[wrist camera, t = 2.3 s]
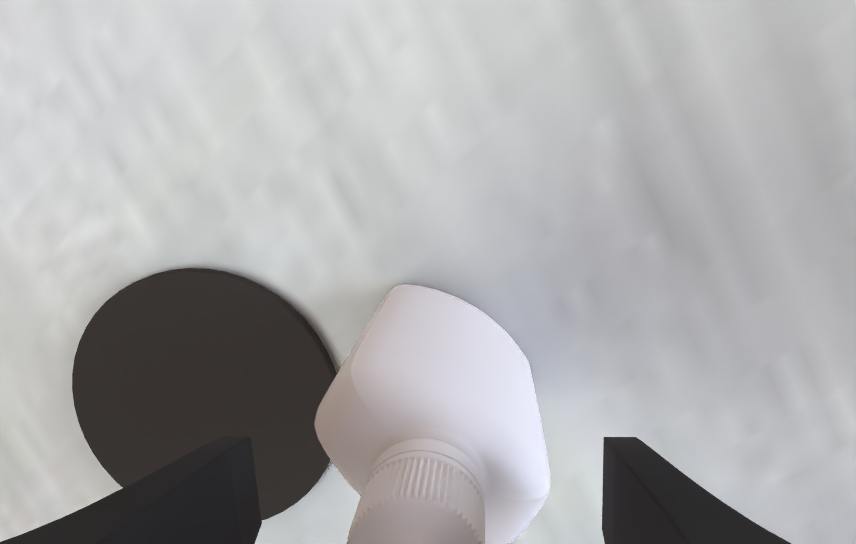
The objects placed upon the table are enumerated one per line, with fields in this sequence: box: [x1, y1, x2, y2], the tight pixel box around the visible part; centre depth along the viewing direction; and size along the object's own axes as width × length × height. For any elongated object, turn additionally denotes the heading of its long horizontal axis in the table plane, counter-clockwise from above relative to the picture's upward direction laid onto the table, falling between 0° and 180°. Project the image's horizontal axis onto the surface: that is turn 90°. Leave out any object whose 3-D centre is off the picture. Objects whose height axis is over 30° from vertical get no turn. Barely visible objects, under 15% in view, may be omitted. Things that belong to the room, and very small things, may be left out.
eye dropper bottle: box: [314, 284, 551, 544], centre depth 15 cm, size 4×6×12 cm
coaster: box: [72, 268, 336, 520], centre depth 22 cm, size 10×10×1 cm
